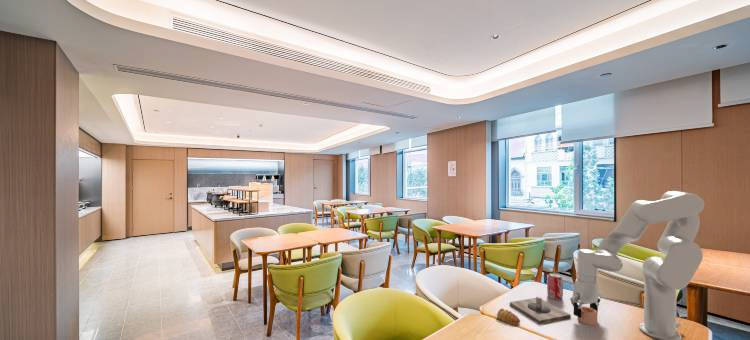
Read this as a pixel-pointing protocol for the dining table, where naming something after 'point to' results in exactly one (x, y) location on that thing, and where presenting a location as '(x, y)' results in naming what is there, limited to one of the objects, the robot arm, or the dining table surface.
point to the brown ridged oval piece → (508, 317)
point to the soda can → (555, 286)
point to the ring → (588, 315)
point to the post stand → (540, 310)
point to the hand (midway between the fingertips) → (585, 314)
